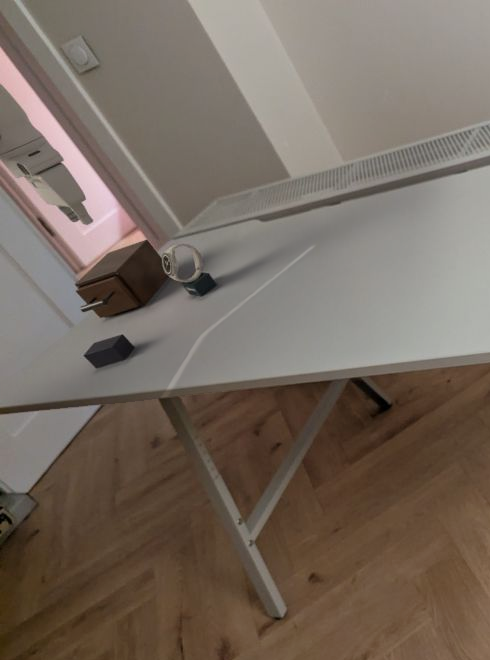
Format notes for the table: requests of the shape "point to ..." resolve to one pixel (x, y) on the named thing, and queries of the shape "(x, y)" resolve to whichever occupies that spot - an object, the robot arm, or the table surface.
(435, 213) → the table surface
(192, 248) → the watch
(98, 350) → the black block
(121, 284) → the drawer
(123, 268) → the cabinet
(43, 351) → the table surface
